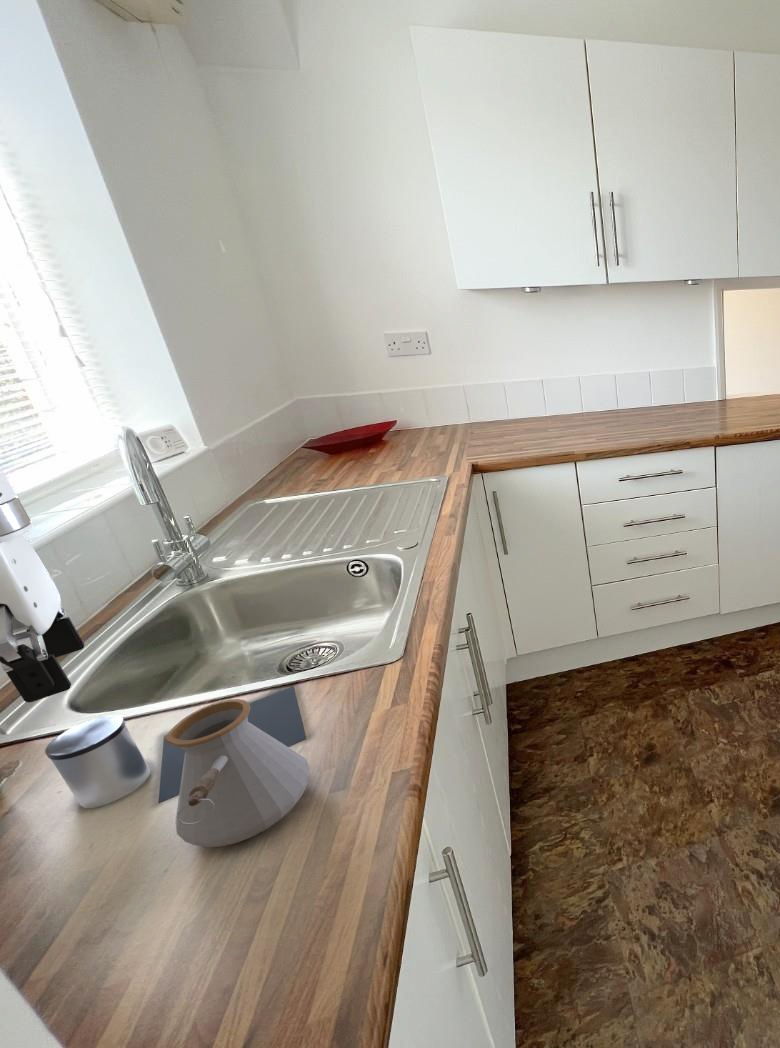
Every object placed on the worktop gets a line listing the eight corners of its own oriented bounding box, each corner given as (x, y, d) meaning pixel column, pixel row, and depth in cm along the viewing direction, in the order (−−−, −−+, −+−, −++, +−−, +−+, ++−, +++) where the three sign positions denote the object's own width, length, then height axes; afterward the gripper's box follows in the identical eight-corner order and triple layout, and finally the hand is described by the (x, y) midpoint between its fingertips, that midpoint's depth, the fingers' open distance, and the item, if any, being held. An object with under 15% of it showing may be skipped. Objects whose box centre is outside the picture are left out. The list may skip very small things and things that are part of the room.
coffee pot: (190, 808, 64) (132, 699, 59) (313, 755, 71) (270, 653, 65) (172, 975, 48) (89, 848, 43) (332, 888, 55) (278, 768, 49)
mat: (159, 805, 65) (158, 803, 65) (165, 738, 75) (163, 735, 75) (307, 741, 73) (306, 738, 73) (294, 688, 83) (293, 685, 83)
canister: (75, 821, 64) (39, 765, 61) (83, 787, 68) (50, 733, 65) (151, 789, 67) (120, 735, 64) (154, 758, 72) (125, 707, 69)
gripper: (-63, 515, 60) (24, 654, 66) (-131, 569, 47) (-16, 733, 54) (42, 495, 64) (114, 626, 70) (5, 539, 52) (96, 694, 58)
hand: (58, 672), depth 62 cm, fingers open, 9 cm apart
